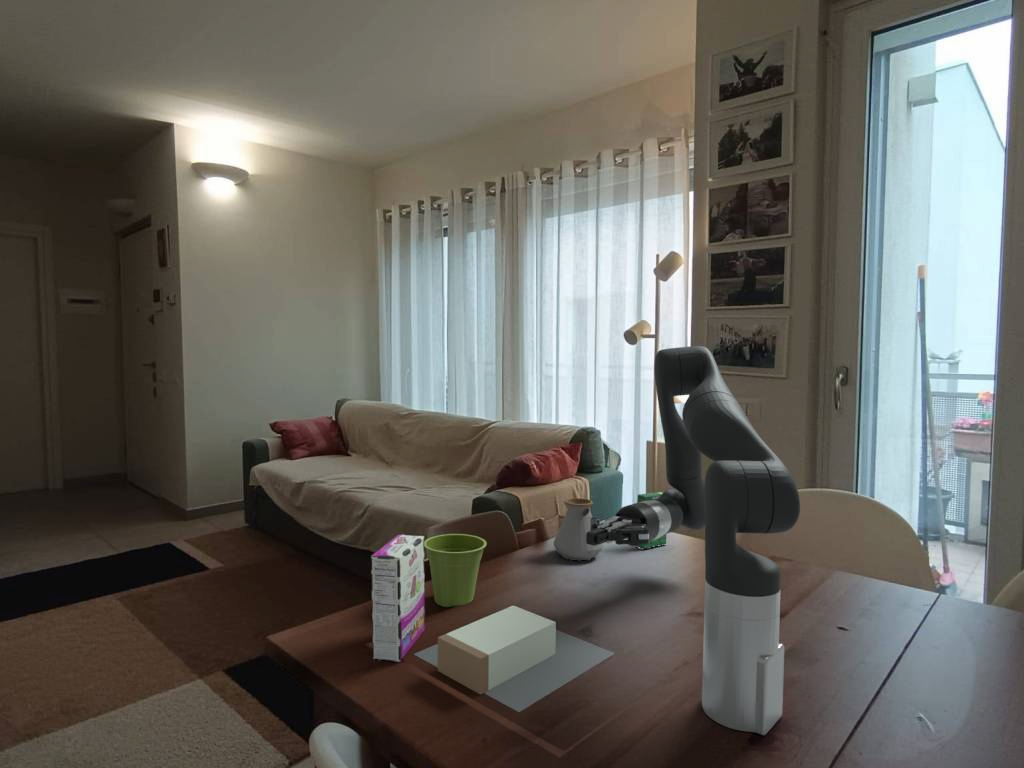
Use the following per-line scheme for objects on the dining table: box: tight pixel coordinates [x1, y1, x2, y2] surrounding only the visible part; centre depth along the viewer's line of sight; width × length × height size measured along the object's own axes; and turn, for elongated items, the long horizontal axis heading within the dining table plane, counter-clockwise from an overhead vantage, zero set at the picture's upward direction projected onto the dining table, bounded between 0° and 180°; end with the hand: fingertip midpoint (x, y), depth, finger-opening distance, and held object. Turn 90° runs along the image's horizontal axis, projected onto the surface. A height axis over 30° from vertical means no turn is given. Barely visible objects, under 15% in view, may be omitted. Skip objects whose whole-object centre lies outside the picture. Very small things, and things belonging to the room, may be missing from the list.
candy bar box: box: [370, 534, 426, 663], centre depth 99 cm, size 11×5×16 cm, turn 168°
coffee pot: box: [553, 497, 604, 562], centre depth 139 cm, size 21×12×15 cm, turn 0°
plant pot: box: [424, 533, 487, 608], centre depth 117 cm, size 12×12×11 cm
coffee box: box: [636, 491, 667, 550], centre depth 151 cm, size 8×3×13 cm, turn 122°
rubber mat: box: [413, 629, 616, 713], centre depth 96 cm, size 22×22×1 cm
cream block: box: [437, 605, 557, 696], centre depth 93 cm, size 9×5×16 cm
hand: (590, 539), depth 106 cm, fingers closed
